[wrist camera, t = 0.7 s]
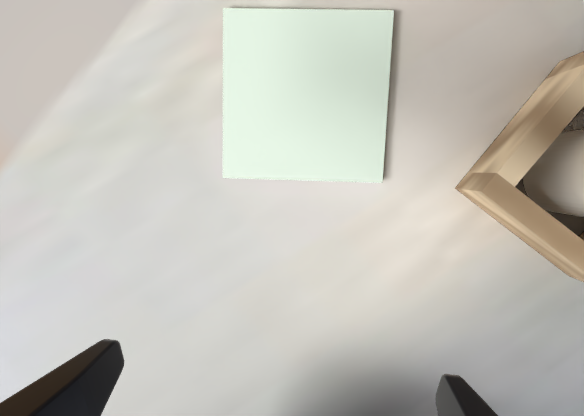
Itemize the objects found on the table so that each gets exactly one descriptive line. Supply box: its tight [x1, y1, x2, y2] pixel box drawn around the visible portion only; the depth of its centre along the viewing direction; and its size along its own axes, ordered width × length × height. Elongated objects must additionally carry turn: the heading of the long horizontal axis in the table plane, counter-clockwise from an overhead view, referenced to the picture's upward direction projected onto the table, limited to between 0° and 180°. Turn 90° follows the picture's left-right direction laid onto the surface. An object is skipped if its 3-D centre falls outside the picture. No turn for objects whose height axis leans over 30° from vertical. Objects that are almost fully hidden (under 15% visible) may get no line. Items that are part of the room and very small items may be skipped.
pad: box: [223, 8, 394, 183], centre depth 23 cm, size 12×12×1 cm
